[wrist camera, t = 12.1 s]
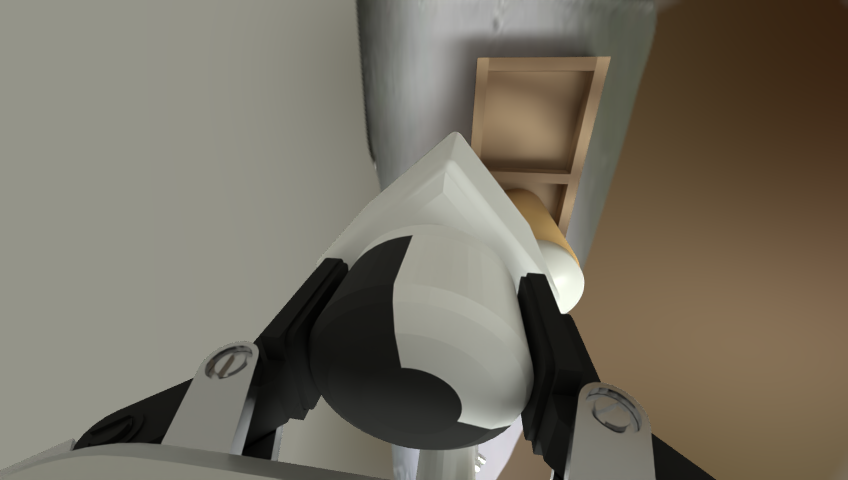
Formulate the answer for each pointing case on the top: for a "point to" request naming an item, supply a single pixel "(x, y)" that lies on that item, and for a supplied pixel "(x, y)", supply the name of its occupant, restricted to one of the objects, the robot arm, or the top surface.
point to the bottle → (551, 247)
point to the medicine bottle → (430, 308)
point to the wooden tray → (537, 124)
